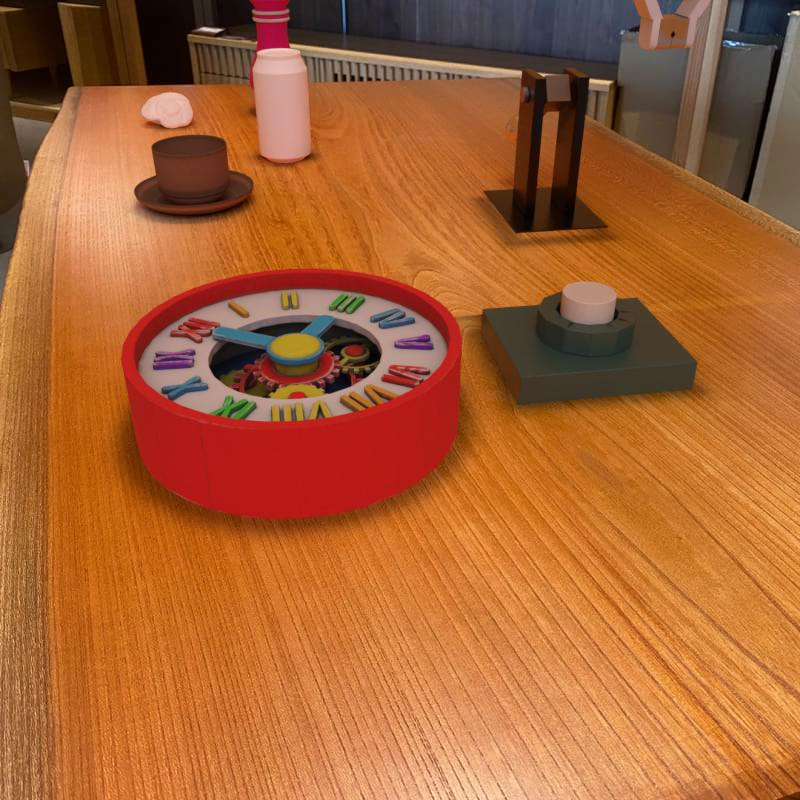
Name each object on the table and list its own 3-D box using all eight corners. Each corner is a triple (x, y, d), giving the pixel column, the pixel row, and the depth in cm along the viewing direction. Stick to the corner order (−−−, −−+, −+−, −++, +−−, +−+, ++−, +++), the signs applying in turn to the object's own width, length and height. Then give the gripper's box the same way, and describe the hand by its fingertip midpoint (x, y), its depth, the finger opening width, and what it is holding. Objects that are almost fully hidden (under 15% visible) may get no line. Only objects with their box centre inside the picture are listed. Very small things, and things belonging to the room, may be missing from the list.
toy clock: (381, 466, 39) (42, 381, 45) (382, 560, 42) (65, 468, 49) (504, 296, 55) (239, 251, 61) (498, 374, 58) (247, 323, 64)
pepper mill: (285, 104, 124) (275, -49, 114) (313, 113, 120) (305, -45, 109) (243, 111, 121) (228, -46, 110) (270, 121, 116) (257, -42, 105)
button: (602, 302, 59) (605, 279, 58) (621, 325, 56) (625, 301, 55) (552, 305, 59) (555, 282, 58) (570, 329, 56) (573, 305, 55)
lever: (502, 153, 88) (499, 118, 88) (535, 151, 89) (532, 117, 89) (540, 108, 75) (537, 68, 75) (579, 106, 76) (575, 67, 76)
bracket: (482, 201, 88) (490, 62, 80) (565, 197, 89) (580, 59, 82) (514, 244, 78) (526, 89, 70) (606, 238, 79) (628, 85, 72)
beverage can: (250, 157, 101) (240, 51, 95) (292, 148, 105) (285, 45, 98) (279, 169, 97) (271, 59, 91) (322, 158, 101) (317, 52, 94)
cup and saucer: (125, 196, 89) (115, 137, 86) (234, 179, 94) (228, 123, 91) (152, 232, 80) (142, 168, 77) (271, 212, 85) (266, 151, 82)
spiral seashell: (194, 121, 117) (195, 94, 114) (190, 138, 113) (191, 110, 110) (142, 113, 116) (142, 85, 113) (136, 130, 112) (136, 101, 109)
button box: (632, 323, 64) (640, 274, 62) (692, 390, 56) (703, 337, 54) (480, 335, 63) (483, 285, 60) (518, 406, 54) (523, 352, 52)
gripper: (536, -231, 41) (519, 66, 49) (911, -233, 44) (841, 48, 52) (501, -220, 47) (491, 46, 54) (839, -222, 49) (784, 31, 57)
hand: (664, 47), depth 53 cm, fingers closed
